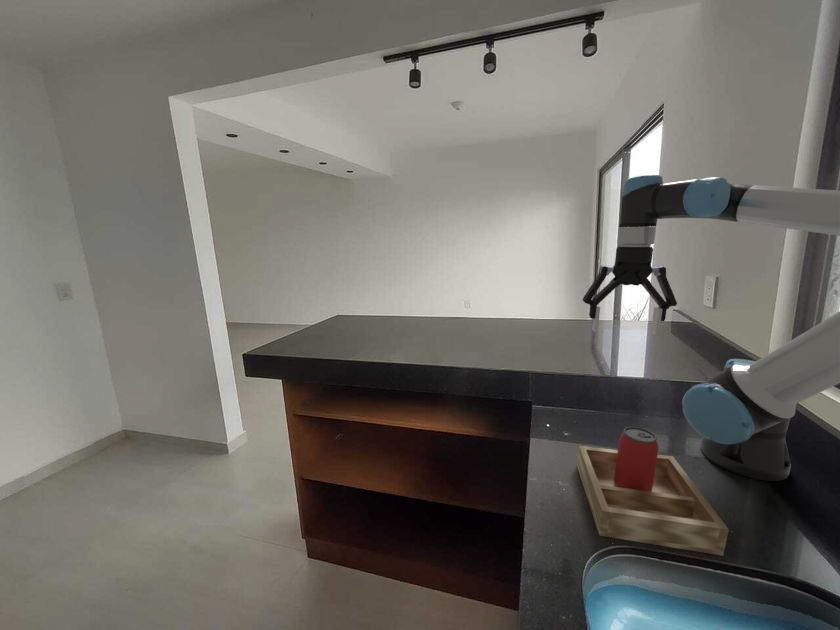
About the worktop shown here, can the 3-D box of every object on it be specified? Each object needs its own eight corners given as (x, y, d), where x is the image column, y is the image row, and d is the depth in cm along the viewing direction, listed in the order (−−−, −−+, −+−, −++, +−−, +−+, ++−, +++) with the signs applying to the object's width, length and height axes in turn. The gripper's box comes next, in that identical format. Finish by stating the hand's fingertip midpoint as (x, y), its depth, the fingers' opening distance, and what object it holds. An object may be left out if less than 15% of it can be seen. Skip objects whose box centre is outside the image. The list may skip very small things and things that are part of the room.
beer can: (657, 501, 68) (666, 445, 65) (620, 496, 69) (627, 441, 66) (643, 478, 74) (651, 426, 71) (609, 474, 75) (615, 423, 72)
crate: (669, 477, 75) (672, 456, 74) (723, 555, 57) (728, 529, 56) (576, 465, 79) (578, 445, 78) (599, 535, 61) (602, 510, 60)
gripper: (687, 245, 84) (673, 330, 89) (575, 245, 90) (568, 326, 95) (704, 246, 77) (688, 339, 82) (581, 246, 83) (573, 333, 87)
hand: (624, 332), depth 88 cm, fingers open, 13 cm apart
